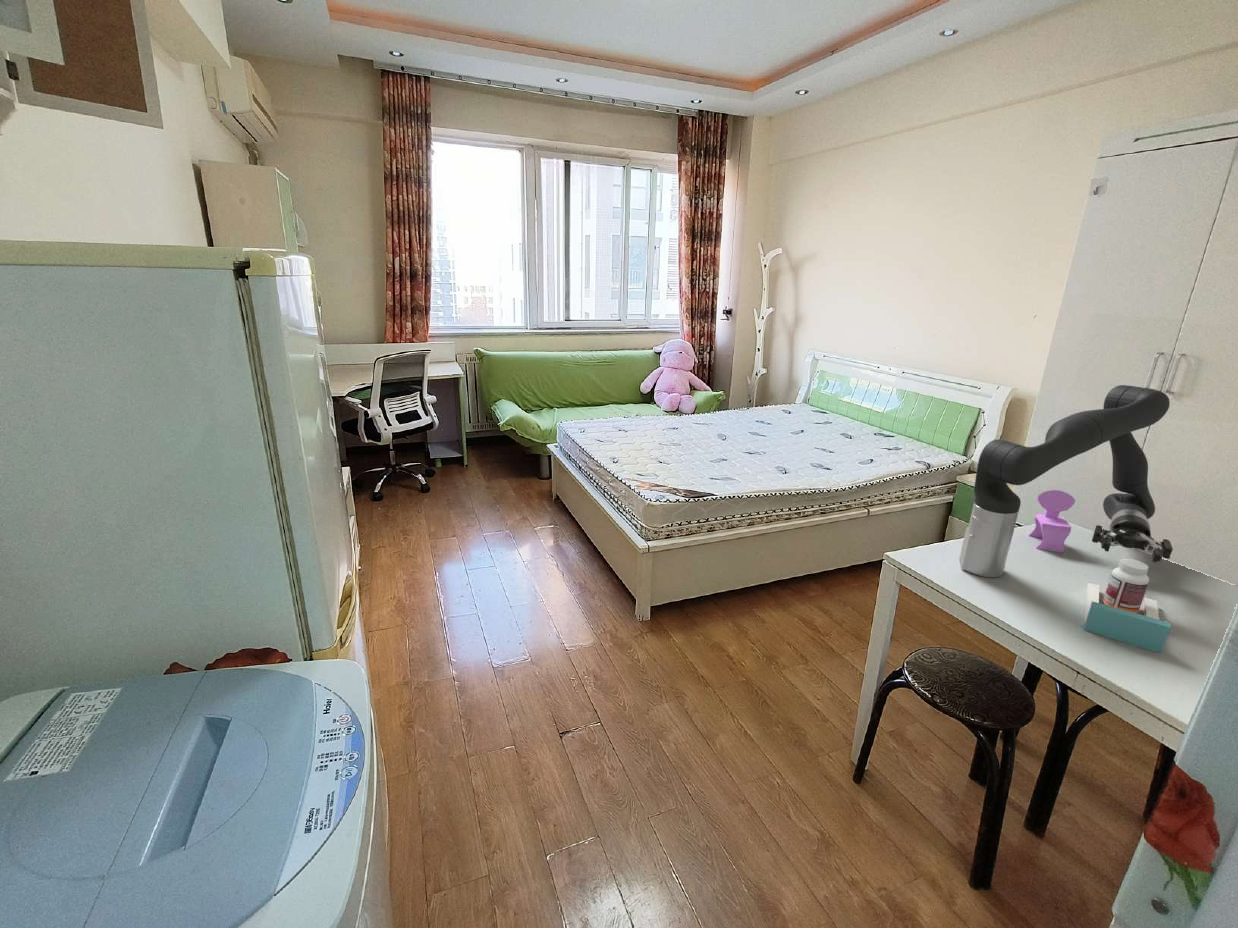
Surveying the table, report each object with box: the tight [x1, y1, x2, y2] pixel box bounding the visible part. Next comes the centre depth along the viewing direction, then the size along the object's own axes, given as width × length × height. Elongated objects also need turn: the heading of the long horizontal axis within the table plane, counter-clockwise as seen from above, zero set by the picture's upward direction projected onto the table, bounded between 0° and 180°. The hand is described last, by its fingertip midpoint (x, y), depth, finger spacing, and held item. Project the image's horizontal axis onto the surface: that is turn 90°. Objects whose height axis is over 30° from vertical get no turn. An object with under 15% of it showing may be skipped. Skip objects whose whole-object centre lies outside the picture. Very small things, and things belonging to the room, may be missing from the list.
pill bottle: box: [1103, 558, 1150, 614], centre depth 125 cm, size 6×6×11 cm
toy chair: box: [1028, 489, 1076, 553], centre depth 152 cm, size 8×9×15 cm
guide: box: [1083, 582, 1171, 654], centre depth 122 cm, size 20×12×6 cm, turn 141°
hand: (1131, 553), depth 132 cm, fingers open, 8 cm apart
